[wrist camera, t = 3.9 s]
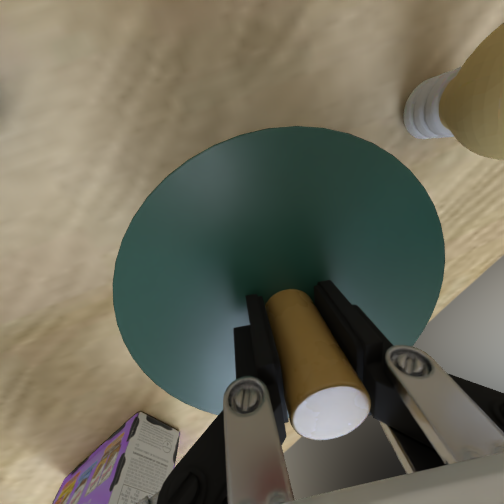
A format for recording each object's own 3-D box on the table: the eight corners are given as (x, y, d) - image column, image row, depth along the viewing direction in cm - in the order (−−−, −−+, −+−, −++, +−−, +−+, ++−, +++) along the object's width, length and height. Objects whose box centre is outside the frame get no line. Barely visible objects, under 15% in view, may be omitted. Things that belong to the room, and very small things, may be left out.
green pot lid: (450, 101, 10) (758, 28, 4) (410, 374, 16) (513, 496, 10) (61, 163, 9) (-202, 175, 3) (173, 424, 15) (144, 584, 9)
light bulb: (475, 52, 16) (804, -82, 7) (454, 154, 19) (679, 152, 9) (385, 60, 16) (610, -73, 7) (375, 162, 18) (530, 170, 9)
